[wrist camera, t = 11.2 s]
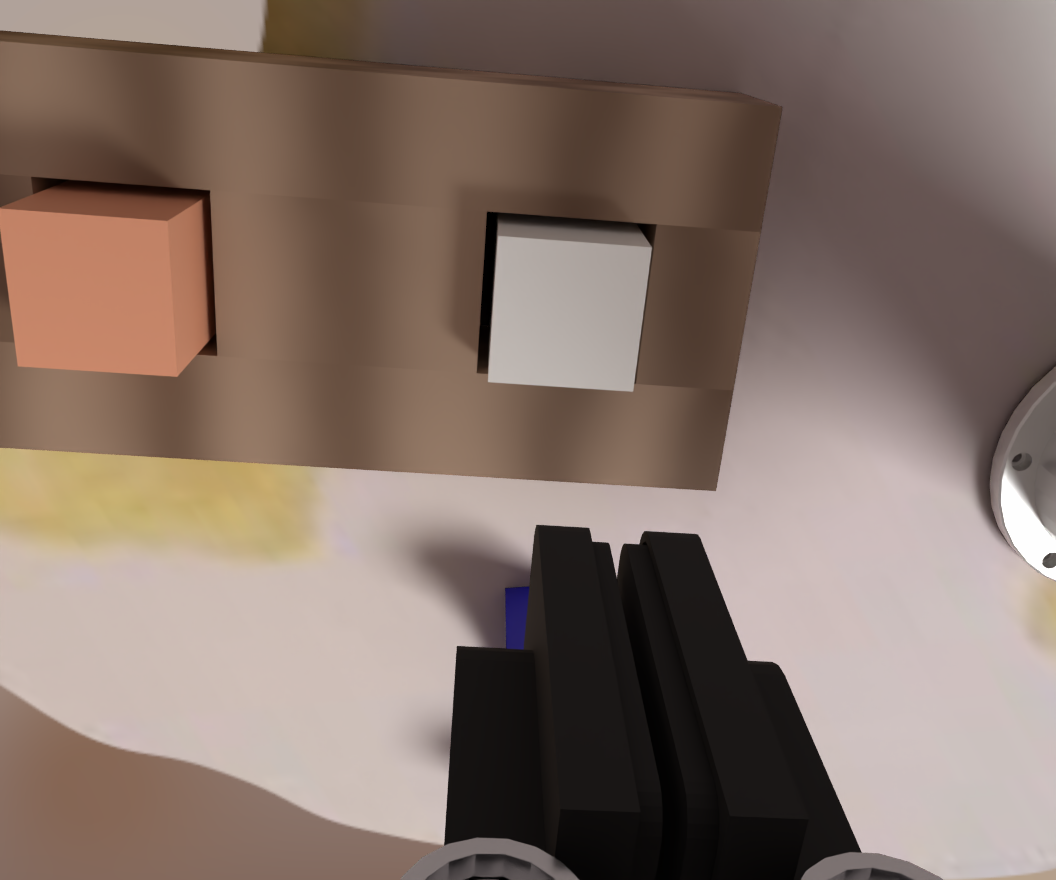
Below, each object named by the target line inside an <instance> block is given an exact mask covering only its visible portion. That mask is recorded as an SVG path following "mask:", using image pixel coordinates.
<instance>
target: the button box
mask: <svg viewBox="0 0 1056 880" xmlns="http://www.w3.org/2000/svg"><path fill="white" fill-rule="evenodd" d="M781 112H782V107H781V106H778V105H775V104H772V103H769V102H766V101H763V100H760V99H757V98H754V97H751V96H748V95H745V94H742V93H733V92H721V91H709V90H698V89H686V88H674V87H662V86H650V85H638V84H627V83H615V82H603V81H591V80H579V79H567V78H556V77H544V76H532V75H520V74H508V73H496V72H485V71H473V70H461V69H449V68H437V67H425V66H414V65H402V64H390V63H378V62H366V61H354V60H343V59H331V58H319V57H307V56H295V55H283V54H272V53H260V52H248V51H236V50H224V49H211V48H200V47H189V46H176V45H164V44H153V43H141V42H129V41H117V40H105V39H94V38H81V37H70V36H58V35H46V34H34V33H23V32H11V31H0V207H2V206H5V205H7V204H10V203H12V202H15V201H18V200H20V199H23V198H25V197H28V196H30V195H33V194H35V193H38V192H41V191H43V190H46V189H48V188H51V187H53V186H56V185H58V184H61V183H63V182H66V181H69V180H82V181H95V182H108V183H122V184H135V185H148V186H161V187H174V188H187V189H200V190H210V201H211V223H212V245H213V268H214V290H215V312H216V333H215V334H214V336H213V337H212V338H211V339H210V340H209V341H208V342H207V343H206V345H205V346H204V347H203V348H202V349H201V350H200V351H199V353H198V354H197V355H196V356H195V357H194V358H193V359H192V361H191V362H190V363H189V364H188V365H187V366H186V367H185V369H184V370H183V371H182V372H181V373H180V374H179V375H178V377H172V376H157V375H142V374H126V373H111V372H96V371H80V370H65V369H50V368H34V367H19V366H18V364H17V356H16V349H15V341H14V333H13V325H12V318H11V310H10V302H9V294H8V287H7V279H6V271H5V263H4V255H3V248H2V240H1V232H0V448H16V449H32V450H49V451H65V452H82V453H98V454H115V455H131V456H148V457H164V458H181V459H197V460H214V461H230V462H247V463H263V464H280V465H296V466H313V467H329V468H346V469H362V470H379V471H395V472H412V473H428V474H445V475H461V476H478V477H494V478H511V479H527V480H544V481H560V482H577V483H593V484H610V485H626V486H643V487H659V488H676V489H692V490H709V491H716V488H717V482H718V476H719V470H720V465H721V459H722V453H723V447H724V442H725V436H726V430H727V424H728V418H729V413H730V407H731V401H732V395H733V390H734V384H735V378H736V372H737V366H738V361H739V355H740V349H741V343H742V338H743V332H744V326H745V320H746V315H747V309H748V303H749V297H750V291H751V286H752V280H753V274H754V268H755V263H756V257H757V251H758V245H759V239H760V234H761V228H762V222H763V216H764V211H765V205H766V199H767V193H768V188H769V182H770V176H771V170H772V164H773V159H774V153H775V147H776V141H777V136H778V130H779V124H780V118H781ZM487 211H489V212H502V213H515V214H528V215H541V216H554V217H567V218H581V219H594V220H607V221H620V222H633V223H636V224H637V226H638V227H639V229H640V230H641V232H642V233H643V235H644V236H645V238H646V239H647V241H648V242H649V244H650V245H651V247H652V251H651V259H650V266H649V274H648V282H647V289H646V297H645V304H644V312H643V320H642V327H641V335H640V343H639V350H638V358H637V366H636V373H635V381H634V389H633V392H629V391H614V390H599V389H584V388H569V387H554V386H538V385H523V384H508V383H493V382H488V358H489V326H484V325H480V311H481V296H482V280H483V265H484V249H485V233H486V218H487Z"/></svg>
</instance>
